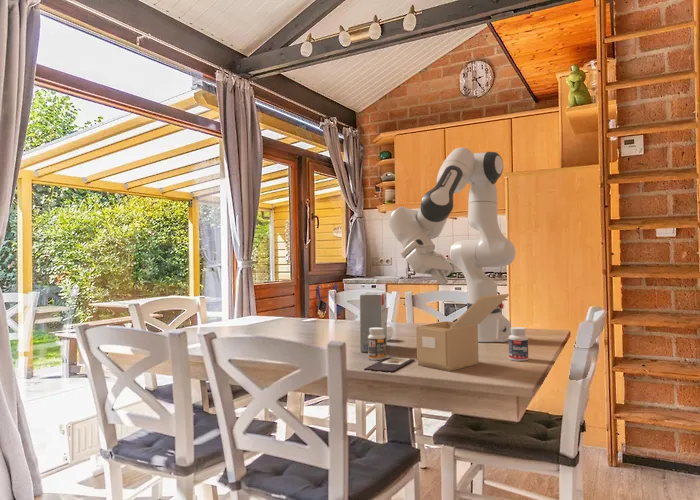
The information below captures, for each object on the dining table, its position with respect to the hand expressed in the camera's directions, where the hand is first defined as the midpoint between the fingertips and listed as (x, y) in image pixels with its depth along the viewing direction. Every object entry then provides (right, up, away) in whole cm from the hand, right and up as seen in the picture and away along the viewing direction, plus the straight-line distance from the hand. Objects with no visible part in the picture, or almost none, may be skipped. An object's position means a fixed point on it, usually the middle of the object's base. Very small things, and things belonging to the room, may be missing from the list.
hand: (444, 283), depth 163 cm
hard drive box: (-20, -25, +27) cm, 42 cm away
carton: (+1, -24, -2) cm, 25 cm away
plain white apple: (-16, -25, +44) cm, 53 cm away
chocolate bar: (-17, -25, -2) cm, 31 cm away
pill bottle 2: (+24, -24, +3) cm, 34 cm away
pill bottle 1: (-20, -25, +8) cm, 33 cm away
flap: (+4, -12, -7) cm, 15 cm away
